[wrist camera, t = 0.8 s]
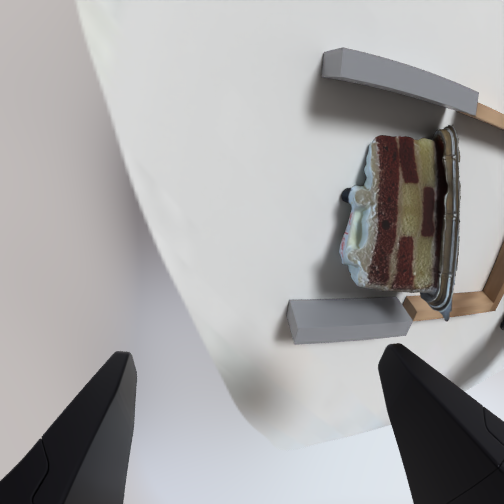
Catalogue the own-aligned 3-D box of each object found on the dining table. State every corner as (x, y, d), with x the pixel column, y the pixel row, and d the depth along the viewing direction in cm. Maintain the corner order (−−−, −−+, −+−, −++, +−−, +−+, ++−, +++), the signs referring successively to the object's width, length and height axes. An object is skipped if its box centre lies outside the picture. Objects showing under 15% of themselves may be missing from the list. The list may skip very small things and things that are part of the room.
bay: (449, 87, 16) (478, 92, 13) (391, 311, 25) (405, 335, 22) (323, 52, 15) (343, 47, 12) (286, 315, 24) (294, 344, 21)
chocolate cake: (346, 96, 17) (343, 307, 14) (454, 113, 15) (479, 314, 12) (336, 175, 26) (327, 322, 23) (415, 183, 24) (417, 327, 21)
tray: (538, 135, 17) (553, 142, 16) (484, 298, 26) (495, 310, 24) (458, 98, 16) (477, 102, 14) (402, 305, 24) (412, 321, 23)
